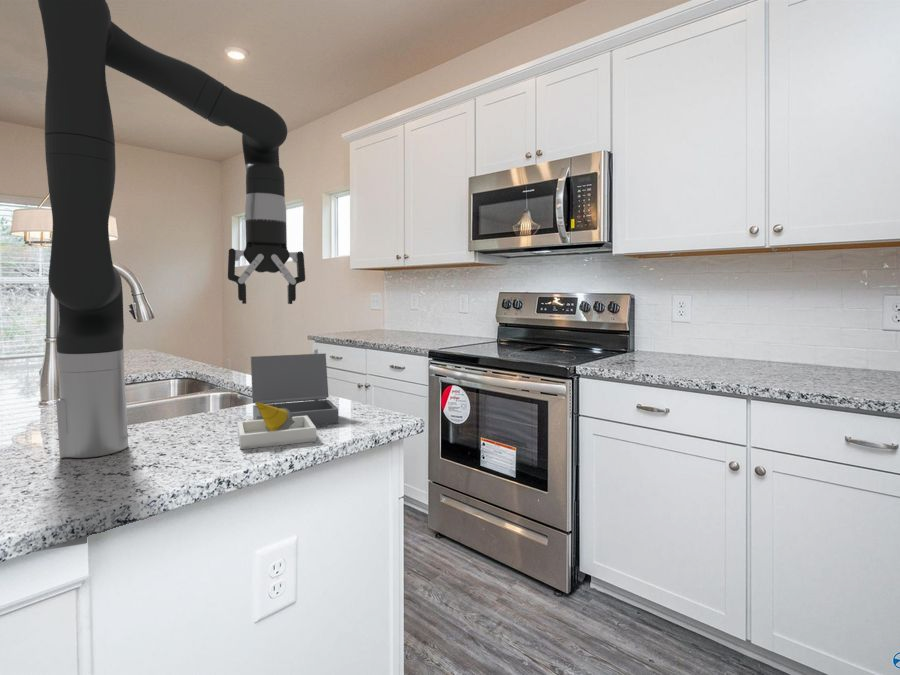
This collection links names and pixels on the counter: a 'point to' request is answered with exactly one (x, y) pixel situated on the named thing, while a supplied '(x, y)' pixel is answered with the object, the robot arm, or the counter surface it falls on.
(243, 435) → the tray
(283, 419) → the drill bit
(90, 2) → the robot arm
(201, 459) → the counter surface
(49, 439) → the counter surface
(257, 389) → the lid
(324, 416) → the case
